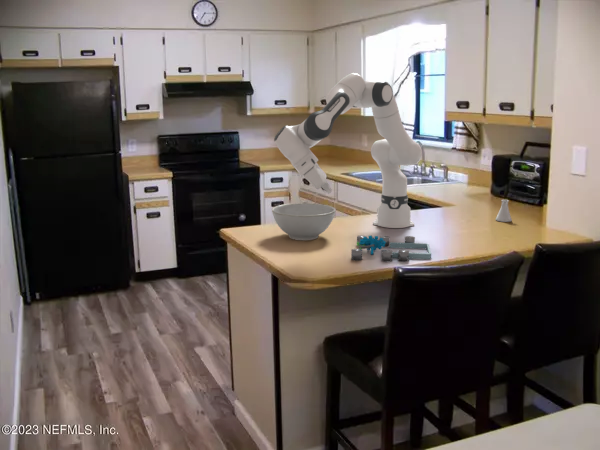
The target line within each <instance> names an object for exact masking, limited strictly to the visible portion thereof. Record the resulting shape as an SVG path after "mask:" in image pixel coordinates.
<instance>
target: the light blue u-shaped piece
mask: <svg viewBox="0 0 600 450" xmlns="http://www.w3.org/2000/svg"><path fill="white" fill-rule="evenodd" d="M389 248H390V249H392V248H393V249H394V248H395V249H415V248H418V250H419V248H424V249H423V250H426V252H409V259H413V260H414V259H417V260H431V259H432V252H431V247H430V244H429V243H427V242H426V243H423V242H422V243H419V242H418V243H417V242H415V243H405V242H397V241H395V242H393V241H389ZM425 248H426V249H425ZM427 252H428V253H427ZM430 258H431V259H430ZM392 259H398V251H397V252H396V251H393V253H392Z"/></svg>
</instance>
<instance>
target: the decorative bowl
mask: <svg viewBox="0 0 600 450" xmlns="http://www.w3.org/2000/svg"><path fill="white" fill-rule="evenodd" d="M336 211H337V210H336V208H335V207H333V206H330V205H327V204H321V203H307V202H305V203H304V202H300V203H298V202H297V203H296V202H295V203H286V204H281V205H280V204H279V205H276V206H274V207H273V208H271V213H272V217H273V219H274V222H275V224H276V225H277V226H278V227H279V228H280V230H281V231H283V232H284V233H285V234H287V235H288V236H289V237H288V238H290V239H292V240H294V239H295V240H294V241H312V240H316V239H318V238H319V235H321V234H322V233H324V232H325V231H326V230H327V229H328V228H329V226H331V224H332V222H333V220H334V219H335V214H336Z"/></svg>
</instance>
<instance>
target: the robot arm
mask: <svg viewBox="0 0 600 450" xmlns="http://www.w3.org/2000/svg"><path fill="white" fill-rule="evenodd" d="M325 102H326V105H325V106H324V107H323V108H322V109H321V110H318V111H315V112H312V113H311V114H309V115H308V116H307V118H305V120H304V121H303V122H301V123H300V124H296V125H284V126H282V128H281V129H280V130H279V131H278V132H277V133H276V134H275V136H274V140H273V141H274V144H275V146H276V147H277V149H279V152H280V153H281V154H282V155H283V157H285V158H286V159H287V160H288V161H289V162H290V164H291V165H292V167H293V168H294V169H295V170H296V171H297V173H298V174H299V175H300V176H301V177H304V178H305V180H306V181H308V182H309V183H310V184H311V185H312V186H313V187H314V188H315V189H317V190H319V189H321V188H322V190H324V191H325V192H326V193H327V194H328V195H329V194H331V193H332V191H333V188H332V187H331V186H330V185H329V183H328V182H327V177H328V176H327V175H328V174H326V172H325V171H324V170H323V169H322V168H321V167H320V166H319V164H318V162H319V159H318V157H317V156H316V155H315V154H314V153H313V152H312V150H311V149H312V147H314V146H316V145H317V144H318V143H320V142H321V141H322V140H324V139H325V138H328V136H330V134H331V132H332V130H333V126H334V123H335V121H336V120H337V119H338V118H339V117H340V115H344V114H345V113H347V112H348V111H349V110H351V109H352V108H360V109H361V108H362V109H363V108H364V109H369V108H371V112H372V116H373V120H374V124H375V127H376V131H377V133H378V134H379V135H380V136H381V137H383V138H384V139H379V140H376V141H374V143H373V144H372V145H371V149H370V154H371V157H372V159H373V160H374V161H375V162H376V164H377V166H378V167H379V171H380V173H381V178H382V192H381V196H380V202H381V204H379V205H378V207H377V210H376V213H377V214H376V219H375V220H373V222H372V225H374V226H379V227H382V228H390V229H402V228H409V227H414V226H415V223H414V222H413V221H412V220H411V212H412V211H411V207H410V206H409V205H408V200H409V196H408V178H407V175H405V174H404V173H403V172H402V169H401V167H400V166H403V167H404V166H406V167H407V166H409V167H410V166H415V165H418V163H419V162H420V161H421V160H422V157H423V150H422V147H421V145H420V144H419V143H418V142H416V141H414V139H413V138H412V137H411V136H410V135H409V133H408V132H407V130H406V129H405V127H404V125H403V121H402V118H401V114H400V110H399V107H398V103H397V101H396V97H395V95H394V91H393V88H392V85H390V82H387V81H386V80H385V81H384V80H367V79H366V80H365V79H364V77H363V76H362V75H360V74H358V73H356V72H355V73H354V72H352V73H349V74H347V75H345V76H344V77H342V78H341V79H340V80H339V81H338V82H336V84H334V86H332V87H331V89H330V90H329V91H328V93H327V94H326V97H325Z"/></svg>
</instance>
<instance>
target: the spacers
mask: <svg viewBox="0 0 600 450" xmlns="http://www.w3.org/2000/svg"><path fill="white" fill-rule="evenodd" d="M363 237H367V238H368V236H367V235H362V234H361V235H357V236H356V243H357V242H359V243H360V239H363ZM380 238H383V241H385V242H386V244H385V247H384V248H388V247H390V242H391V241H390V239H391V237H390V236H388V235H380V236H379V237H378V240H380ZM415 240H416V237H415V236H413V235H407V236H404V243H416V242H415ZM381 242H382V241H381ZM393 252H394V251H393V250H391V249H381V255H380V256H381V257H380V260H381V262H385V263H388V262H393V258H392V253H393ZM397 252H398V258H397V261H398V262H405V263H406V262H409V259H410V258H409V253H410V250H408V249H398V250H397ZM350 254H351V257H350V258H351V261H356V262H357V261H362V260H363V249H359V248H352V249H351V253H350Z"/></svg>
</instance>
